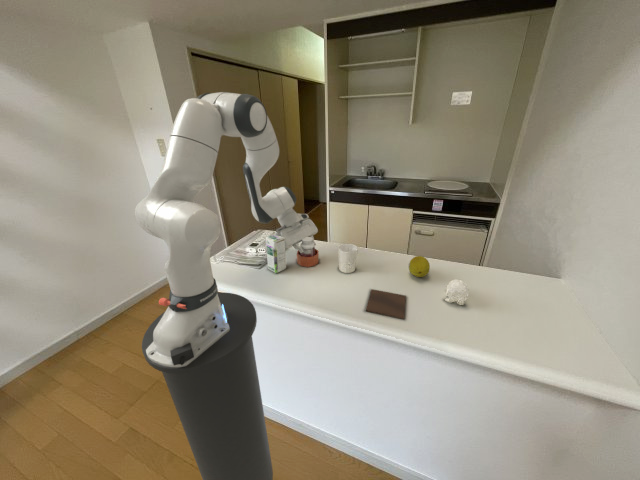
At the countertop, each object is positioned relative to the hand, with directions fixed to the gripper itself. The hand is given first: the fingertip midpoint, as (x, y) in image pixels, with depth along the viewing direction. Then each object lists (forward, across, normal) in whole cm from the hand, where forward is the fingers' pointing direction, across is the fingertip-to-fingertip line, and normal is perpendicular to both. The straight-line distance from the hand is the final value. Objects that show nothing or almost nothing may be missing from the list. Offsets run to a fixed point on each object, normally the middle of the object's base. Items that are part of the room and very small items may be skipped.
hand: (308, 248), depth 111 cm
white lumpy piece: (+45, +11, -36) cm, 58 cm away
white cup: (+16, +5, -7) cm, 19 cm away
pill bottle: (+4, 0, +5) cm, 7 cm away
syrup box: (0, -13, +10) cm, 16 cm away
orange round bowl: (+4, 0, +5) cm, 6 cm away
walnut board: (+32, -6, -24) cm, 41 cm away
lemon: (+34, +18, -25) cm, 46 cm away
